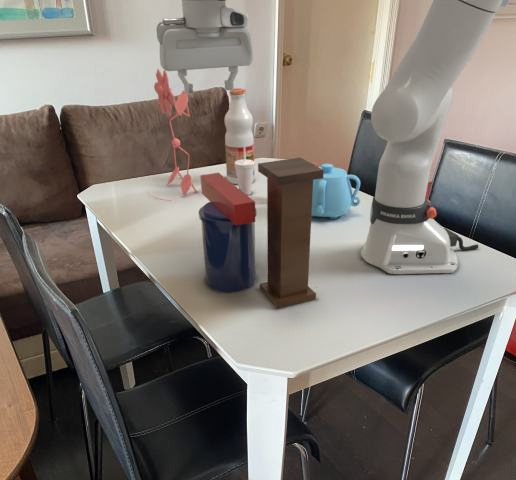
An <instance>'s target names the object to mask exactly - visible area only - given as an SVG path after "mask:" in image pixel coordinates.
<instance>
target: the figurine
mask: <svg viewBox="0 0 516 480" xmlns="http://www.w3.org/2000/svg"><path fill="white" fill-rule="evenodd" d="M155 77H156V80H157V81H156V82H154V85H153V89H154V92H156V94H157V99H158V102H157V103H156V104H155V106H154V108H157V107H158V106H159V108H160V112H161V113H162V114H165V112H166V114H167V115H168V117H171V116H172V111H173V108H172V104H173V105H174V108H175V111H176V114H175V115H173V116H172V117H171V118H170V119H169V121H168V123H169V126H170V127H169V128H170V130H171V134H172V138H173V139H172V140H171V146H172V147H173V155H174V165H175V166H174V167H175V169H173V171H172V172H171V174H170V176H169V178H168V180H167V183H166V185H167V186H168V185H170V184H171V183H172V182H173V181H174V180H175V178H176V177H177V175H178V176H179V177H177V178H176V179H177V180H179V179H181V182H180V190H181V193H182V195H183V196H186V195H187V193H188V192H189V191H190V189H191V187H192V189H193V191H194V192H195V193H198V190H197V189H196V187H195V186H194V184H193V181H192V175H190V173H189V170H190V169H189V168H190V167H189V166H190V157H191V156H190V155H191V154H190V153H188V152H187V151H186V150H185V149H184V148H182V147H181V141H180V139H179V138H176V137H175V133H174V129H173V125H172V121H173V120H174V119H175V118H177V117H178V116H180V117H181V116H182V115H184V116H186V117H188V118H191V113H190V110H189V105H188V103H189V98H188V94H186V93H185V91H184V90H182V92H181V93H179V95H178V97H177V99H176V100H175V96H174V95H175V94H174V93H173V92H172V88H171V87H170V83H169V82H170V81H169V77H168V71H166V70H164V69H163V72H161V70H160V69H159V68H156V73H155ZM185 111H186V112H185ZM176 148H178V149H180V150H181V151H182V152H184V153H185V154H186V155H187V156H188V159H187V166H186V174H185V175H184V176H182V174H181V171H180V166H177V157H176ZM149 196H150V197H153V198H155V199H157V200H159V201H164V199H162V198H159V197H155V196H153V195H152V194H151V193H149ZM166 201H167V202H171V200H170V199H169V200H168V199H166Z"/></svg>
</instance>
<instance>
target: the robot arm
mask: <svg viewBox="0 0 516 480" xmlns="http://www.w3.org/2000/svg"><path fill="white" fill-rule="evenodd" d="M503 2H504V0H432V3H431V5H430V6H429V9H428V11H427V12H426V16H425V17H424V20H423V22H422V24H421V26H420V28H419V30H418V32H417V34H416V36H415V37H414V40H413V41H412V43H411V44H410V46H409V48H408V49H407V51H406V52H405V54H404V55H403V58H402V59H401V60H400V62H399V63H398V65H397V67H396V68H395V69H394V72H393V74H392V75H391V77H390V79H389V81H388V82H387V84H386V86H385V87H384V89H383V90H382V91H381V93H380V94H379V95H378V97H377V98H376V100H375V101H374V103H373V106H372V109H371V113H370V119H371V125H372V128H373V130H374V132H375V133H376V134H377V136H378V137H379V138H380V139H382V140H384V141H386V142H387V143H386V145H385V148H384V151H383V154H382V156H381V157H380V160H379V163H378V169H377V177H376V186H375V194H374V196H373V197H372V202H371V204H370V205H371V206H370V212H369V222H370V224H369V228H368V233H367V236H366V239H365V243H364V245H363V246H362V249H361V252H360V256H361V258H362V259H363V260H364V261H365V262H366V263H368V264H369V265H371V266H374V267H377V268H379V269H381V270H383V271H384V272H385V273H387V274H390V275H411V274H413V275H414V274H415V275H417V274H420V275H421V274H453V273H454V272H455V271H457V269H458V266H459V259H458V255H457V253H456V252H455V250H454V249H453V248H452V247H456V246H457V242H458V248H459V249H460V250H462V251H465V252H466V251H467V252H468V251H472V250H476V249H478V248H479V244H472V245H468V246H464V241H463V238H462V237H461V236H460V235H458V234H457V233H455V232H453V231H452V230H450V229H448V228H446V227H443V226H442V225H441V224H440V223H438V222H437V221H436V220H435V218H436V217H437V215H438V214H437V213H438V212H437V210H436V208H435V207H434V205H433V203H431V201H430V199H426V197H427V191H428V185H429V181H430V176H431V170H432V165H433V162H434V159H435V156H436V154H437V153H436V152H437V150H438V147H439V143H440V142H441V137H442V134H443V130H444V129H445V128H444V127H445V124H446V120H447V117H448V114H449V111H450V110H451V109H450V108H451V106H452V103H453V98H454V93H453V88H452V87H453V85H454V83H455V82H456V81H457V79H458V77H459V76H460V75H461V73H462V72H463V70H464V69H465V68H466V66H467V65H468V63H469V62H470V61H471V60H472V58H473V56H474V54H475V53H476V50H477V49H478V47H479V45H480V44H481V42H482V40H483V38H484V36H485V34H486V32H487V31H488V29H489V27H490V26H491V23H492V21H493V20H494V18H495V16H496V14H497V13H498V11H499V9H500V7H501V5H502V3H503ZM181 6H182V7H181V9H182V17H175V18H162V20H161V21H159V22H158V24H157V25H156V29H155V30H156V38H157V41H158V44H159V63H160V67H161V68H162V69H163V71H164V70H166V72H176V71H177V76H178V78H179V80H180V81H181V82H182V84H183V89H184V90H183V91H185V93H186V94H187V95H189V94H194V86H193V85H194V84H193V83H191V82H190V83H189V82H188V80H187V78H186V77H187V76H188V72H187V71H190V70H192V71H193V70H194V71H195V70H205V69H206V70H207V69H217V68H218V69H219V68H221V69H222V68H228V72H230V73H229V76H228V78H227V79H226V80H224V89H225V90H226V91H230V90H233V89H235V88H234V81H235V80H236V77H237V75H238V72H239V67H245V66H246V67H248V66H251V64H252V63H253V61H254V49H253V48H254V47H253V39H252V33H251V31H250V29H249V28H248V25H249V15H248V14H247V13H245V12H241V11H239V10H236V9H234V8H231V7H228V6H227V5H226V0H181Z"/></svg>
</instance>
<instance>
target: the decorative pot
mask: <svg viewBox="0 0 516 480" xmlns="http://www.w3.org/2000/svg"><path fill="white" fill-rule="evenodd" d="M318 167H319V168H321V169H323V170H324V173H323V178H321V179H315V180H313V195H312V215H311V218H314V217H320V218H321V217H323V218H329V219H330V220H337V219H338V218H339V217H341V216H344V215H346V214H347V212H348V211H349V210H350V208H351V207H357V206H359V205H360V204H361V199H360V197H359V196H357V195H358V194H359V193H358V192H359V190H360V187H361V180H360V178H359V177H358V176H357V175H354V174H348V172H347V171H346V170H345V169H343V168H340V167H334V165H333V164H332V163H323V164H321V166H318ZM351 180H353V181H355V182H356V186H355V189H354V191H353V189H352V183H351ZM355 201H356V202H355Z"/></svg>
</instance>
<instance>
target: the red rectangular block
mask: <svg viewBox="0 0 516 480" xmlns="http://www.w3.org/2000/svg"><path fill="white" fill-rule="evenodd" d="M200 187H201V194H202V195H203V196H204V197H205V199H206V200H208V202H211V203H212V204H213V205H214V206H215V207H217V208H218V209H219V210H220V211H221V212H222V213H223V214H224V215H225V216H226V217H227V218H228V219H229V220H230V221H231V222H232V223H233V224H234V225H241V224H246V223H252V222H255V223H256V217H255V208H256V201H255V200H254V199H252V198H251V197H250V196H249V195H246V194H245V193H243V192H242V191H241V190H240V189H239V187H238V186H236V184H232V183H231V182H230V181H228V180H227V177H224V176H223V175H222V174H221V173H220V172H214V173H208V174H207V173H206V174H200Z"/></svg>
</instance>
